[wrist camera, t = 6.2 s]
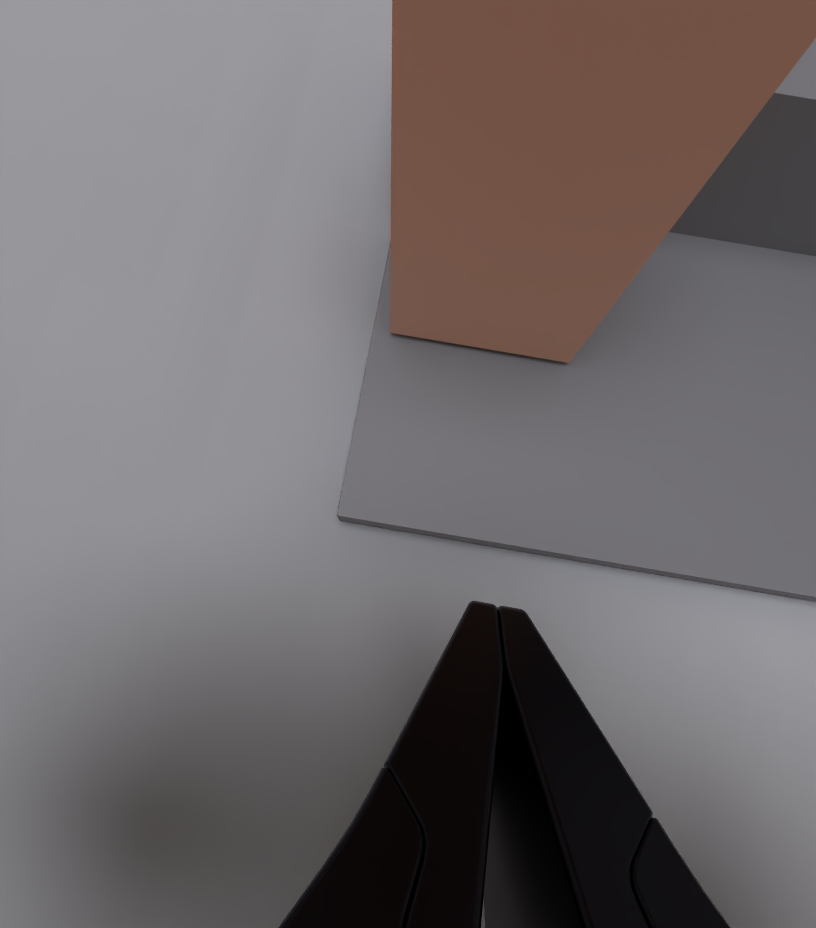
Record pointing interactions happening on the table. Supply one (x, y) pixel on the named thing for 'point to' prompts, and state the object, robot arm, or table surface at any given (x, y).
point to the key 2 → (560, 151)
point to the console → (633, 399)
